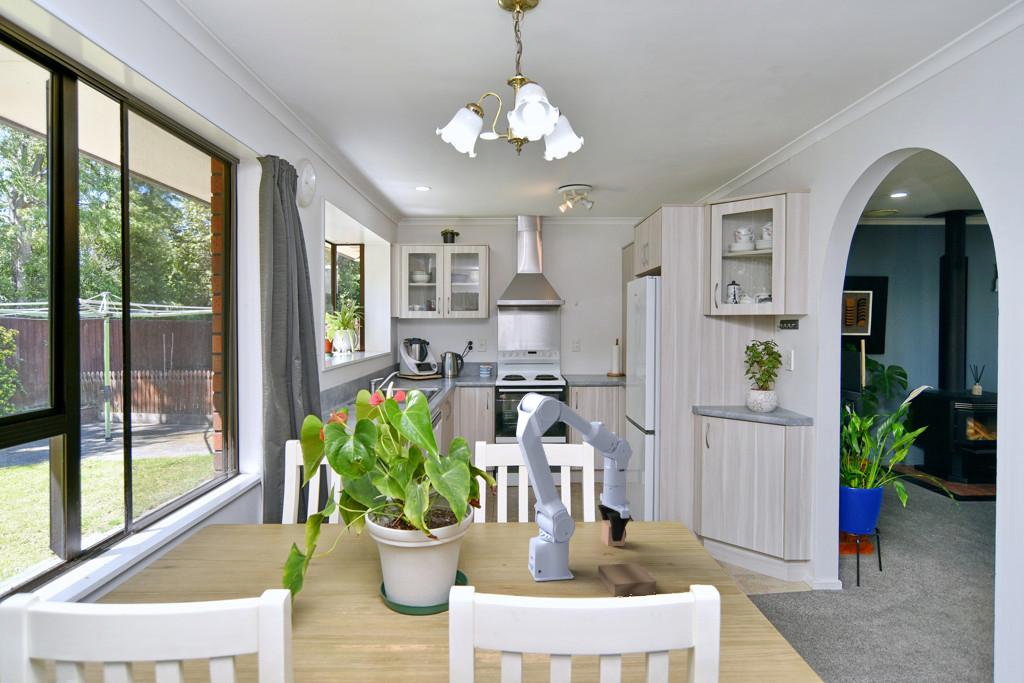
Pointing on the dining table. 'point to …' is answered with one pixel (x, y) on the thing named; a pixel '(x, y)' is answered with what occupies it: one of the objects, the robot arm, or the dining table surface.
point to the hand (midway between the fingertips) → (613, 536)
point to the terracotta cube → (610, 535)
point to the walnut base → (626, 579)
